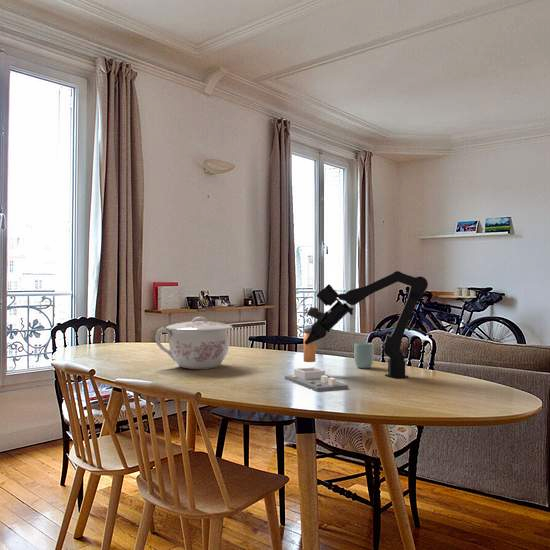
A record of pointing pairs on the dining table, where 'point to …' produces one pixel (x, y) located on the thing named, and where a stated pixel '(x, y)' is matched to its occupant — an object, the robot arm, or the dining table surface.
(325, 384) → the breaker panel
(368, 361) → the cup
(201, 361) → the chamber pot
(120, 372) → the dining table surface
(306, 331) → the capped spray can
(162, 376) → the dining table surface
